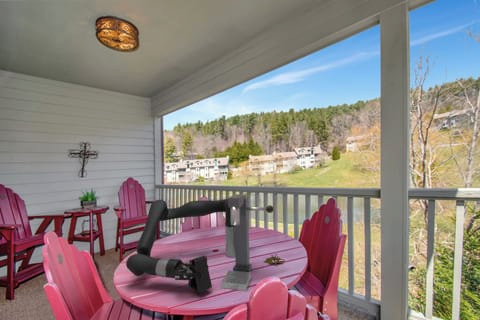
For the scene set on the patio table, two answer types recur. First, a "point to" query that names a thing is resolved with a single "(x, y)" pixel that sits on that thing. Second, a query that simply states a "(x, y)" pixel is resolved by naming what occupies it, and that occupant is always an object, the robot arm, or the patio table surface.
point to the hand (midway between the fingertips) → (204, 271)
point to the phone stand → (204, 281)
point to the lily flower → (274, 260)
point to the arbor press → (241, 243)
